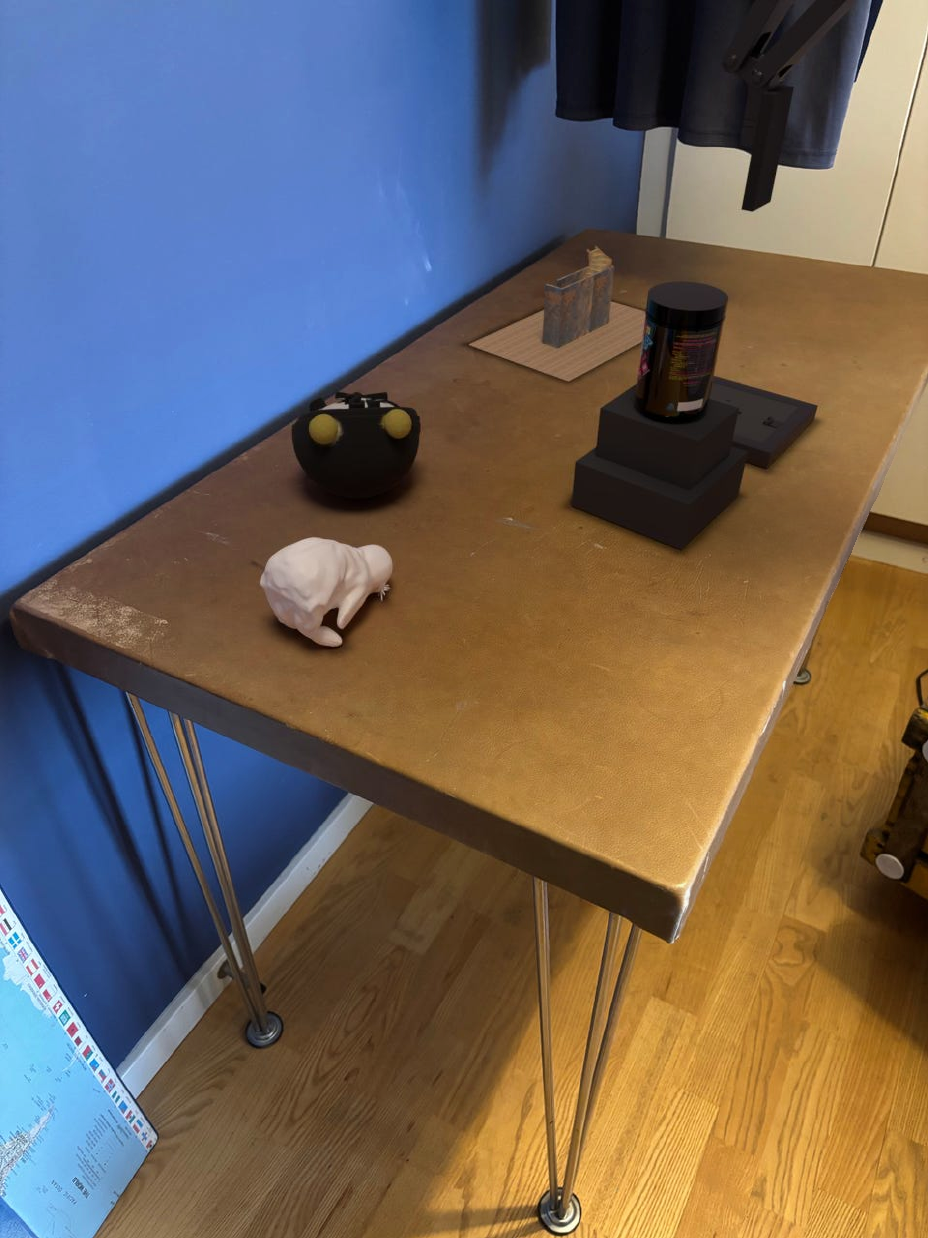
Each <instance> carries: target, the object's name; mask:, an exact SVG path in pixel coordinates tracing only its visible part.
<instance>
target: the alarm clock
mask: <svg viewBox="0 0 928 1238" xmlns="http://www.w3.org/2000/svg"><path fill="white" fill-rule="evenodd" d="M334 399H335V400H337V402H333V403H331V404H329V405H327V404H326V403H327V402H325V400H324V399H323V397H318V398H316V399H314V400H313V401H311V402H310V403H309V406H308V408H309V411H307V412H304V413H301V414H300V415H299V416H298V417H297V419H296V421H295V422H294V423H293V424H292V425H291V443H292V447H293V448H292V449H293V452H294V455H295V457H296V460H297V462H298V464H299V466H300V468H301V469H302V470H303V472H304V473H305V474H306V476H307V477H308V478H309V479H310V480H311V481H312V482H313V483H314V484H315V485H317V487H319V488H321V489H323V490H324V491H326V492H327V493H329V494H332V495H334V496H336V497H337V496H338V497H340V498H341V497H342V498H347V499H357V500H358V499H368V498H372V497H375V496H377V495H381V494H384V493H385V492H388V491H389V490H390V489H392V488H394V487H395V486H396V485H397V484H399V483H400V482H401V481H402V480H403V479H404V478H405V476H406V475H407V474H408V472H409V470H410V469H411V468H412V466H413V464H414V462H415V460H416V457H417V454H418V451H419V447H420V446H419V445H420V436H421V430H422V429H421V428H422V427H421V426H422V425H421V417H420V415H418V413H417V410H416V409H415V408H412V407H408V406H400V405H399V404H397V403H395V402H393V401H391V400H389V397H388V392H387V391H384V392H383V391H382V392H375V393H374V392H373V393H367V394H362V392H360V391H354V392H352V393H348V392H345V391H344V392H343V391H342V392H341V391H336V393H335V394H334ZM338 400H339V401H338Z"/></svg>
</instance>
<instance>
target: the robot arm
mask: <svg viewBox="0 0 928 1238" xmlns="http://www.w3.org/2000/svg"><path fill="white" fill-rule="evenodd" d="M794 2H795V0H754V1H753V3H752V5H751V6H750V8H749V10H748V12H747V13H746V15H745V17H744V19H743V21H742V22H741V24H740V26H739V27H738V29H737V31H736V33H735V34H734V36H733V38H732V40H731V41H730V43H729V45H728V47H727V48H726V50H725V52H724V54H723V56H722V58H721V67H722V69H723V70H724V72H726V73H728V74H734V75H736V76H738V77H739V78H740V79H742V80H743V81H745V83H746V85H747V89H748V91H747V92H748V93H747V99H746V105H745V108H744V109H745V111H744V116H743V121H742V128H741V131H740V132H741V133H740V143H741V147H743V148H749V149H752V150H751V154H750V160H749V166H748V170H747V171H748V172H747V175H746V176H747V178H746V183H745V187H744V193H743V198H742V204H741V210H742V211H747V212H751V213H753V212H755V211H757V210H759V209H761V208H763V207H764V206H766V205H768V204H770V203H771V201H772V198H773V192H774V187H775V182H776V177H777V172H778V167H779V162H780V157H781V153H782V147H783V143H784V139H785V133H786V128H787V123H788V118H789V114H790V113H789V112H790V109H791V104H792V98H793V93H794V89H795V87H794V86H793V85H792V86H790V85H783V84H782V85H780V82H782V81H784V80H785V79H786V75H787V74H788V73H789V72H790V71H791V70H792V69H793V68H794V67H795V66H796V65H797V64H798V63H799V62H800V61H801V60H802V59H803V58H804V57H805V56H806V55H807V54H808V53H809V52H810V50H812V49H813V47H814V46H815V45H816V44H817V43H818V42H819V41H820V40H822V38H823V37H824V36H825V35H826V34H827V33H829V31H830V30H831V29H832V28H833V27H834V26H835V25H836V24H837V23H838V22H839V21H840V20H841V19H842V18H843V17H844V16H845V15H846V14H847V13H848V12H849V10H851V9H852V8H853V6H855V5H856V4H857V2H859V0H815V1H814V2H813V3H811V4H810V6H809V7H808V8H807V9H806V10H805V11H804V12H803V13H802V14H801V16H799V17H798V19H797V20H796V21H794V23H792V25H791V26H790V27H789V28H788V29H787V30H786V31H785V32H784V33H783V35H781V37H780V38H779V39H777V41H775V43H774V44H773V45H772V46H771V48H769V50H768V51H767V52H766V53H765V54H763V52H764V50H765V49H766V47H767V45H769V42H770V40H771V39H772V37H773V35H774V34H775V33H776V31H777V29H778V27H779V25H780V24H781V22H782V21H783V20H784V18H785V16H786V14H787V12H788V11H789V9H790V8H791V7H792V4H793V3H794Z"/></svg>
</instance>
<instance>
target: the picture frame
mask: <svg viewBox="0 0 928 1238" xmlns="http://www.w3.org/2000/svg"><path fill="white" fill-rule="evenodd" d="M710 399H712V400H715V401H718V402H722V403H725V404H728V405H731V406H734V407H738V408H739V411H738V416H737V421H736V425H735V430H734V435H733V440H732V444H731V446H733V447H736V448H739V449H742V450H745V451H748V455H747V459H746V463H747V464H751V465H753V466H757V467H760V468H763V469H768V468H769V467H770V466H771V465H772V464H773V463H774V462H775V461H776V460H777V459H778V458H779V457H780V456H781V454H783V453H784V452H785V451H786V450H787V449H788V448H789V446H791V445H792V443H794V442H795V440H796V439H798V438H799V437H800V435H801V434H803V432H804V431H806V430H807V428H809V426H810V425H811V424H812V423H813V422H814V421H815V417H816V413H817V410H818V407H819V405H818V404H814V403H812V402H811V403H810V402H807V401H804V400H801V399H796V398H793V397H789V396H786V395H783V394H779V393H775V392H772V391H769V390H766V389H761V388H759V387H754V386H752V385H748V384H744V383H741V382H738V381H735V380H730V379H728V378H724V377H720V376H716V375H714V377H713V383H712V388H711V393H710Z"/></svg>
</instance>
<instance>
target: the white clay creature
mask: <svg viewBox="0 0 928 1238" xmlns="http://www.w3.org/2000/svg"><path fill="white" fill-rule="evenodd" d="M393 567H394V565H393V560H392V557H391V555H390V554H389V552H388V551H387V549H385V548H384V547H383V546H381V545H379V544H368V545H362V546H359V547H354V546H351V545H349V544H347V543H341V542H339V541H337V540H335V539H328V538H327V539H326V538H322V537H317V536H316V537H315V536H312V537H308V538H304V539H301V540H299V541H297V542H294V543H291V544H289V545H286V546H285V547H283V548H281V549H280V550H278V551H277V552H275V553H274V554H273V555H271V557H269V558H268V560H267V562H266V564H265V568H264V570H263V572H262V574H261V576H260V580H259V586H260V587H261V589H262V590H263V592H264V593H265V597H266V599H267V602H268V604H269V606H270V608H271V610H272V611H273V614H274V616H275V617H276V618H277V620H278V621H279V622H280V623H282V624H284V625H285V626H287V627H288V628H290V629H295V630H298V631H299V632H300V633H301V634H302V635H303V636H305V637H306V638H309V639H310V640H312V641H313V642H315V643H316V644H318V645H321V646H325V647H332V648H335V647H336V648H337V647H339V646H341V645H342V644H343V638H342V637H341V636H340V635H339V633H337V632H336V631H334V630H333V629H332V628H331V627H328V626H325V625H322V622H323V619H324V616H325V615H326V614H327V613H328V612H329V611H330V610H331V609H333V610H334V609H336V608H337V609H338V614H337V618H336V626H337V627H338V628H339V629H341V630H344V629H345V628H346V626H347V625H348V624H349V623H350V621H351V620H352V619H353V617H355V614H357V612H358V611H359V610H360V608H361V607H362V606H363V605H364V604H365V602H366V599H367V598H368V596H369V595H371V594H373V593H378V595H377V596H379V595H380V600H381V601H383V595H384V596H385V595H386V594H385V592H387V591H388V592H389V590H391V588H390V587H389V586H390V585H389V584H387V583H388V581H389V580H390V578H391V577H392V574H393Z"/></svg>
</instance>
